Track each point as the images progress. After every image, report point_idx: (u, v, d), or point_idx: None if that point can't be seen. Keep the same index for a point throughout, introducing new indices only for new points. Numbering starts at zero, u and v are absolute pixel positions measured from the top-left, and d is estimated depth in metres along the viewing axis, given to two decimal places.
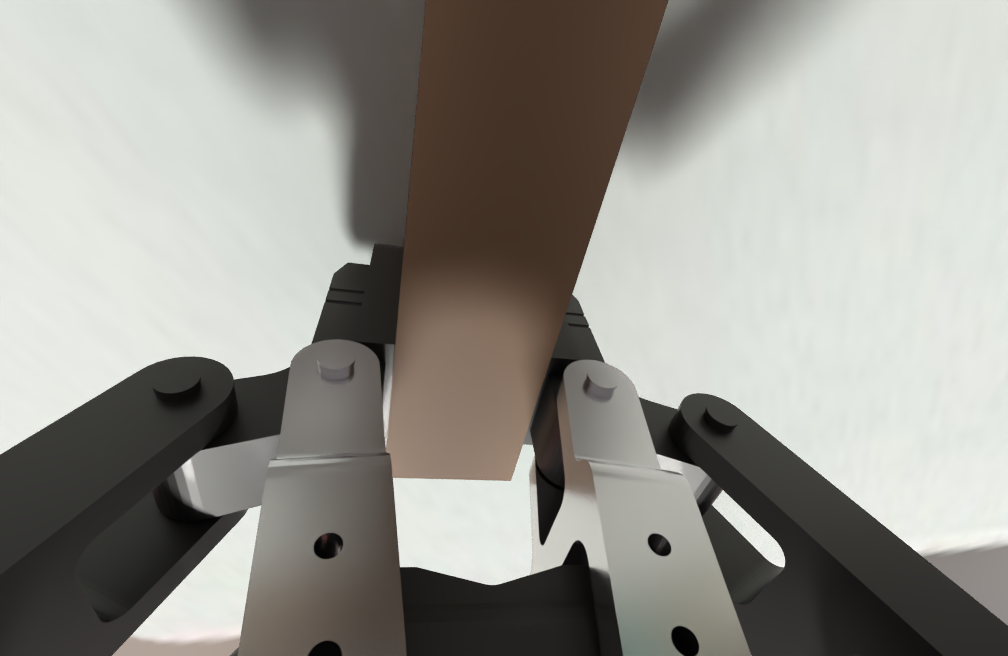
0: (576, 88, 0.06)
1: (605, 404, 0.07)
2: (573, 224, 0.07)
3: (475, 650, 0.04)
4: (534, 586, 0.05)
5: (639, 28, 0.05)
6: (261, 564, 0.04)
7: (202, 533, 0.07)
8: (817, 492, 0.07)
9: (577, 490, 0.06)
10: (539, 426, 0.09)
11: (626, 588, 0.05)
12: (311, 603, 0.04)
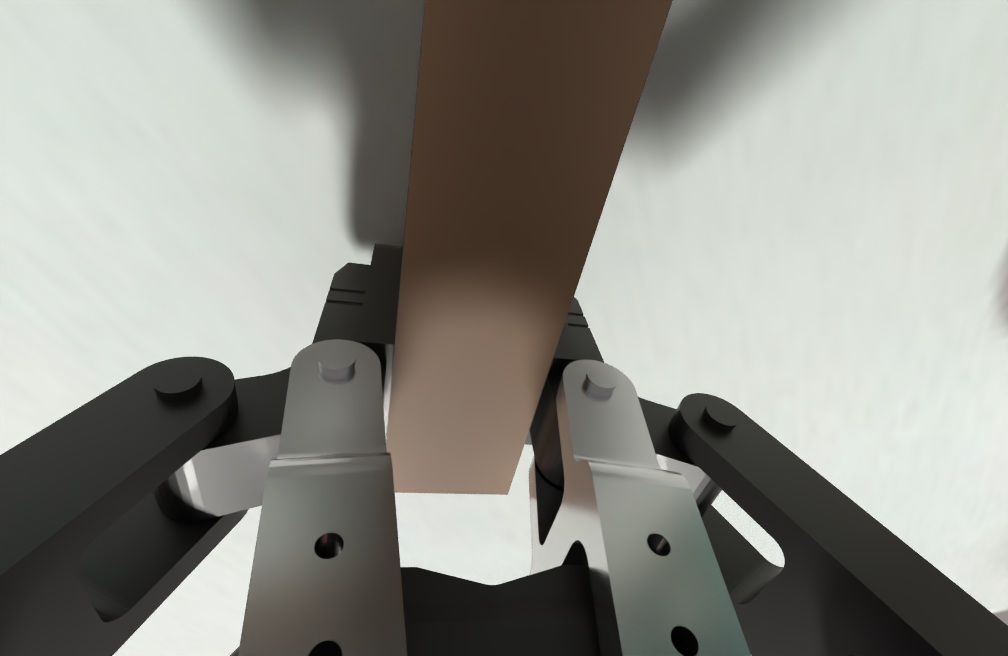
0: (571, 121, 0.06)
1: (604, 404, 0.07)
2: (567, 250, 0.07)
3: (475, 650, 0.04)
4: (534, 586, 0.05)
5: (631, 64, 0.05)
6: (262, 564, 0.04)
7: (203, 533, 0.07)
8: (818, 492, 0.07)
9: (576, 490, 0.06)
10: (538, 426, 0.09)
11: (625, 588, 0.05)
12: (312, 603, 0.04)
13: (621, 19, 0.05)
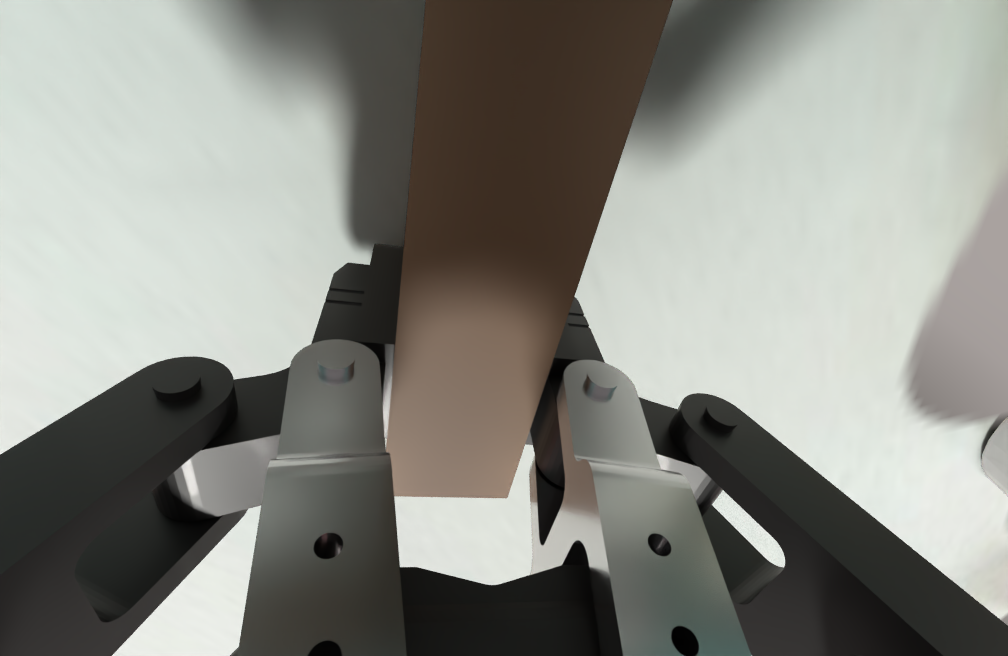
0: (568, 131, 0.06)
1: (605, 404, 0.07)
2: (566, 257, 0.07)
3: (475, 650, 0.04)
4: (534, 587, 0.05)
5: (628, 74, 0.05)
6: (261, 564, 0.04)
7: (201, 533, 0.07)
8: (817, 492, 0.07)
9: (577, 490, 0.06)
10: (539, 426, 0.09)
11: (626, 589, 0.05)
12: (311, 603, 0.04)
13: (617, 30, 0.05)
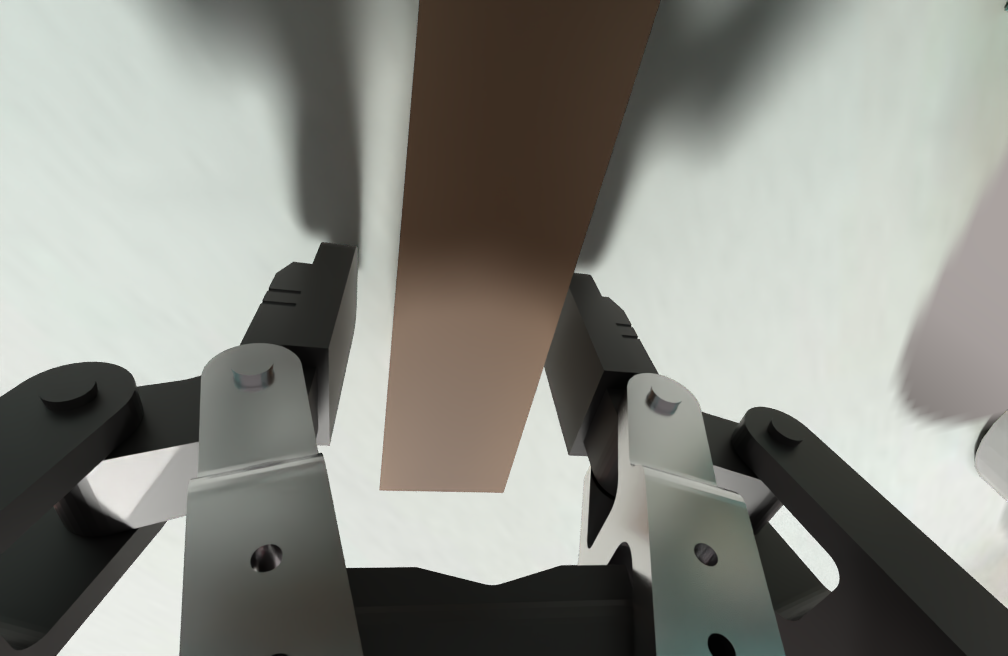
0: (560, 128, 0.06)
1: (672, 419, 0.07)
2: (559, 253, 0.07)
3: (475, 650, 0.04)
4: (534, 586, 0.05)
5: (618, 74, 0.06)
6: (193, 589, 0.04)
7: (120, 545, 0.06)
8: (882, 517, 0.07)
9: (628, 493, 0.06)
10: (595, 438, 0.09)
11: (666, 588, 0.05)
12: (254, 619, 0.04)
13: (607, 30, 0.05)
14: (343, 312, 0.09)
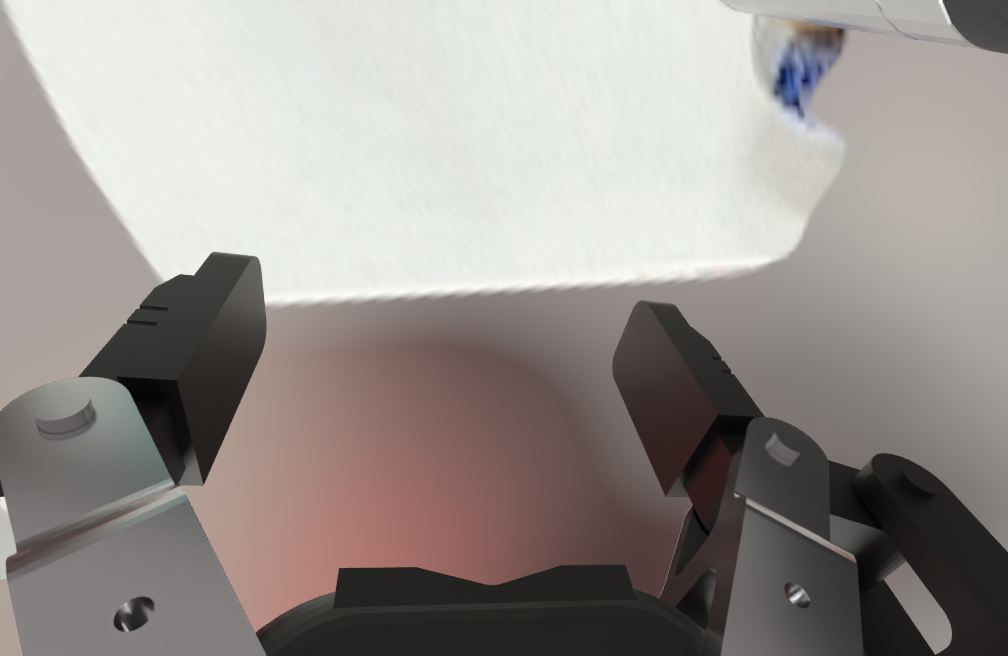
0: None
1: (802, 470, 0.07)
2: None
3: (475, 650, 0.04)
4: (534, 586, 0.05)
5: None
6: None
7: None
8: None
9: (726, 522, 0.06)
10: (702, 483, 0.08)
11: (744, 609, 0.05)
12: None
13: None
14: (223, 333, 0.08)
